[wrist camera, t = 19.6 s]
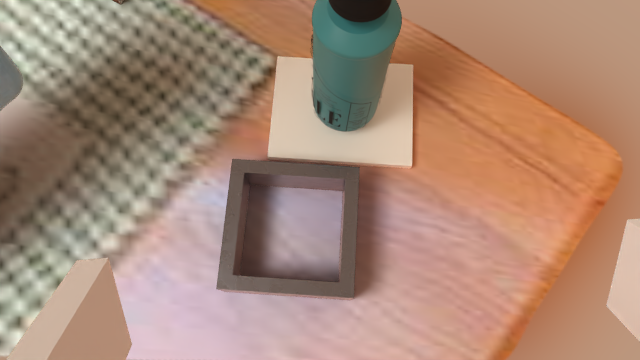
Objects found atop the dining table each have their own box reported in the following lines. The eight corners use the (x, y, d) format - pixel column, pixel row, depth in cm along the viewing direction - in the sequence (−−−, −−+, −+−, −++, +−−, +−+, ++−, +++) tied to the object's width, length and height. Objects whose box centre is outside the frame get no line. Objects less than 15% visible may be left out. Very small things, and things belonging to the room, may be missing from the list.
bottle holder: (225, 291, 44) (216, 289, 40) (239, 172, 47) (232, 158, 43) (350, 300, 44) (353, 298, 40) (355, 179, 47) (359, 167, 43)
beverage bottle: (385, 93, 49) (433, -55, 29) (362, 150, 47) (397, 33, 28) (325, 71, 49) (333, -88, 30) (300, 127, 47) (292, -4, 28)
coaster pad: (268, 159, 47) (267, 156, 47) (278, 60, 50) (277, 56, 50) (410, 168, 47) (412, 166, 46) (411, 68, 50) (413, 64, 50)
